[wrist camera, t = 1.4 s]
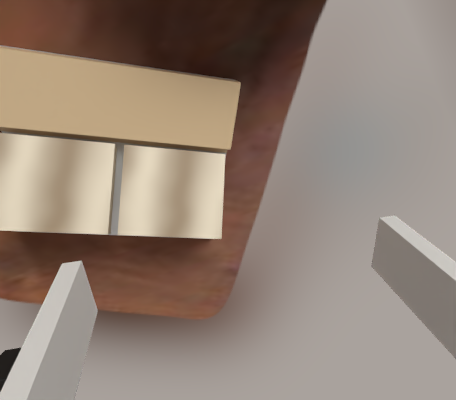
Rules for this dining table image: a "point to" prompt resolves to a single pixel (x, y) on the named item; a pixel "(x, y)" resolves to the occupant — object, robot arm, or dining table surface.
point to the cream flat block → (56, 184)
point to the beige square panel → (171, 193)
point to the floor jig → (114, 105)
